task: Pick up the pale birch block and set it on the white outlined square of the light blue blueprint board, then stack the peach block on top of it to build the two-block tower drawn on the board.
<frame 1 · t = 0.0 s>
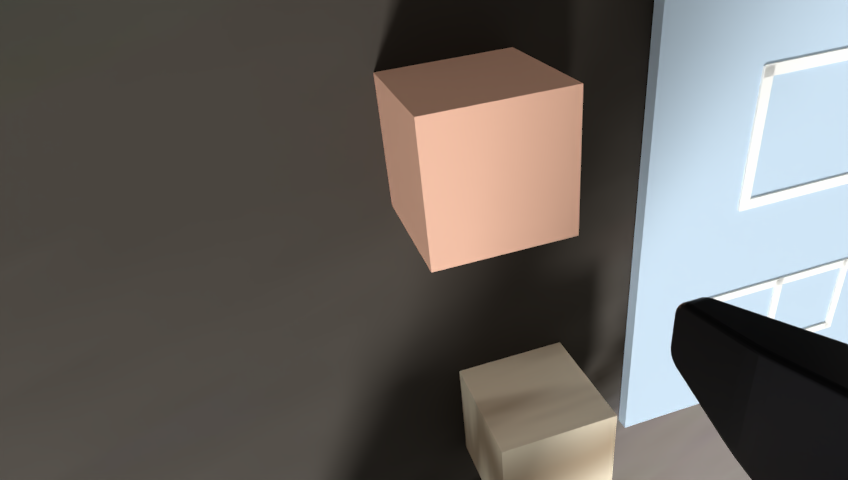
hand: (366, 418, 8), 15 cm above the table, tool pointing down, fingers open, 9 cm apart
blueprint board: (784, 204, 29), on the table
birch block: (511, 394, 30), on the table
peach block: (449, 128, 23), on the table
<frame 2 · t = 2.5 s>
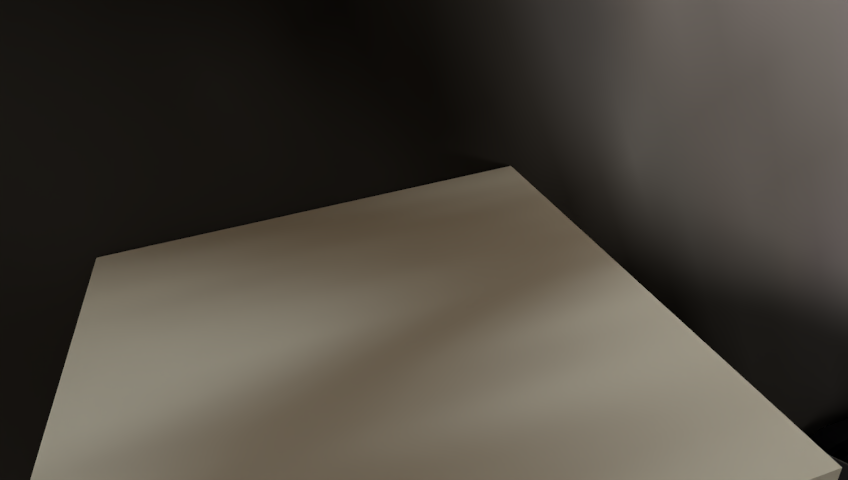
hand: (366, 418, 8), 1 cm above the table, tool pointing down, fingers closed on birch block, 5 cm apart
birch block: (350, 365, 9), on the table, touching gripper
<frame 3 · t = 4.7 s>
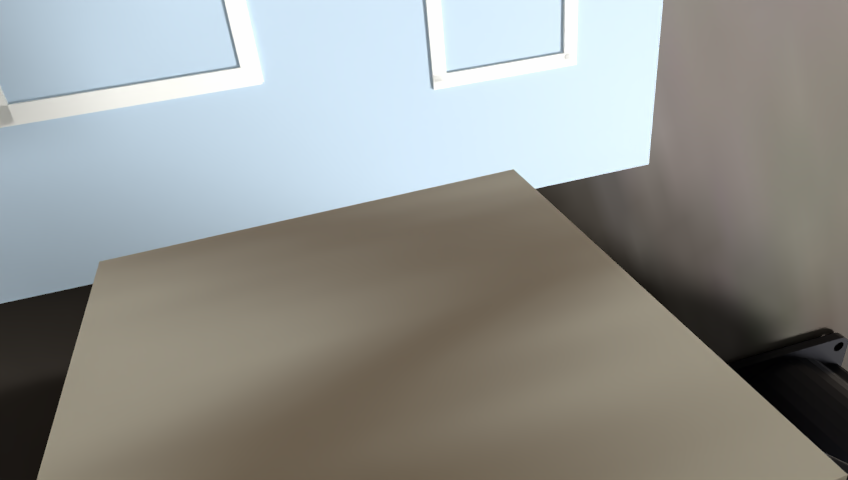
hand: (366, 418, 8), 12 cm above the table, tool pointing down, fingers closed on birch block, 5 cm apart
birch block: (352, 368, 9), point 11 cm above the table, touching gripper
when the fingers open (3 cm above the table, at t = 7.1 s): birch block drops 1 cm, resting on blueprint board.
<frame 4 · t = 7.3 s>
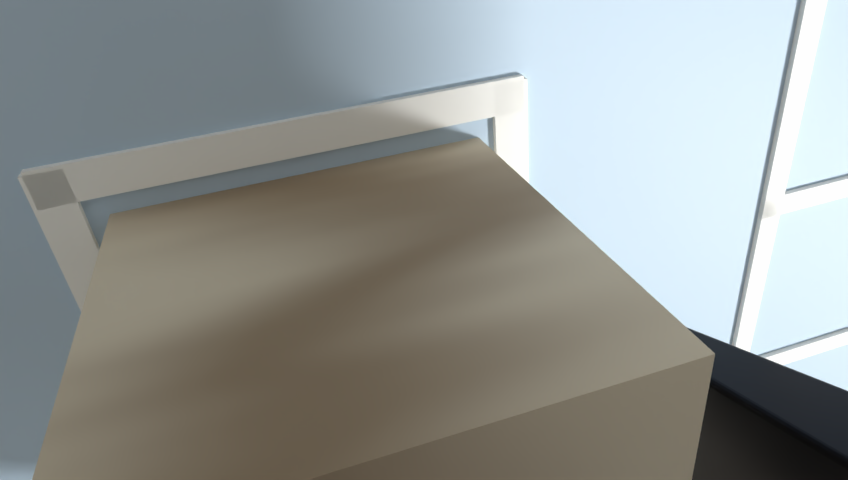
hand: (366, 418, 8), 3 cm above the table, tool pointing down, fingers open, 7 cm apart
blueprint board: (551, 240, 11), on the table
birch block: (336, 319, 10), point 1 cm above the table, touching blueprint board
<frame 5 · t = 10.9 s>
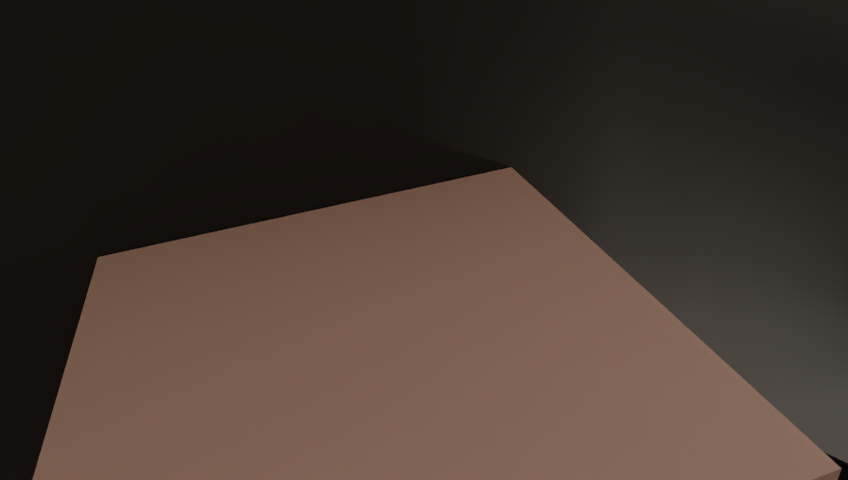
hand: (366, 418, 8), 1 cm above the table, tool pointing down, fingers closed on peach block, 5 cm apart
peach block: (350, 366, 9), on the table, touching gripper
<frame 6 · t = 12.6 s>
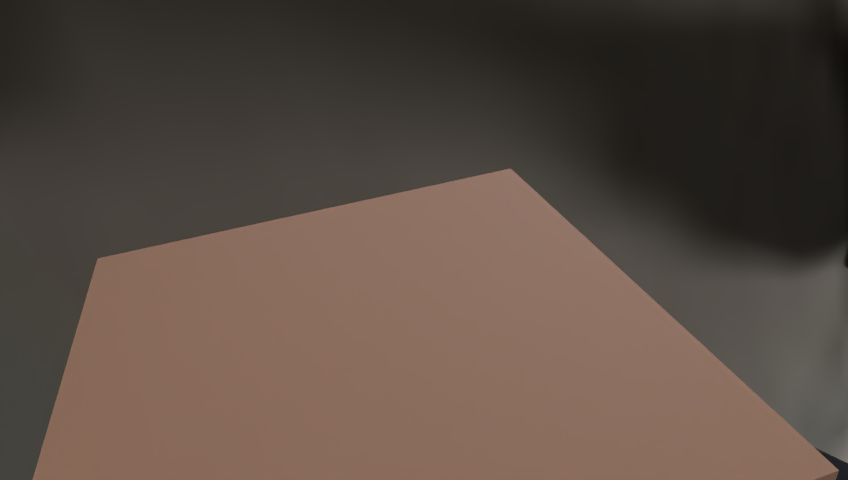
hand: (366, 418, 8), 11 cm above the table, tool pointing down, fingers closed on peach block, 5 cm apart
peach block: (349, 367, 9), point 10 cm above the table, touching gripper
when the fingers open (8 cm above the table, at t = 14.5 s): peach block drops 1 cm, resting on birch block.
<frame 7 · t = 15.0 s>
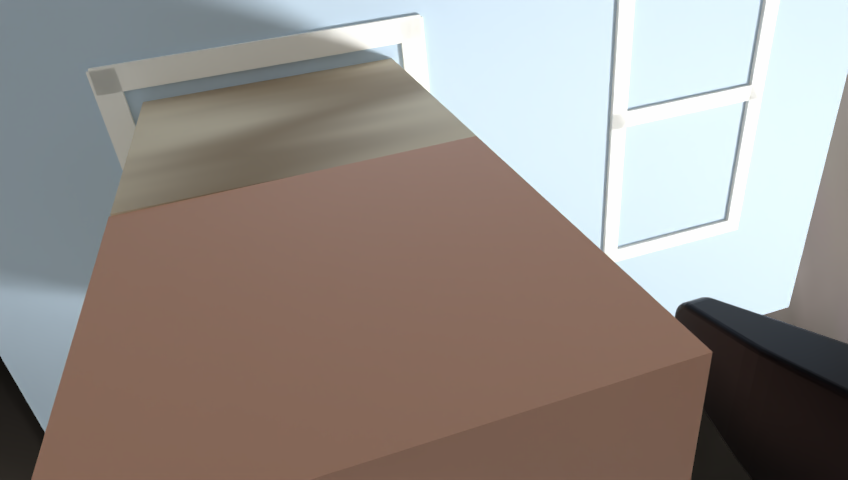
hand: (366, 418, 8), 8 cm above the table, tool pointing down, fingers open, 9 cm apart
blueprint board: (456, 143, 15), on the table
birch block: (297, 190, 14), point 1 cm above the table, touching blueprint board, peach block
peach block: (336, 319, 10), point 6 cm above the table, touching birch block
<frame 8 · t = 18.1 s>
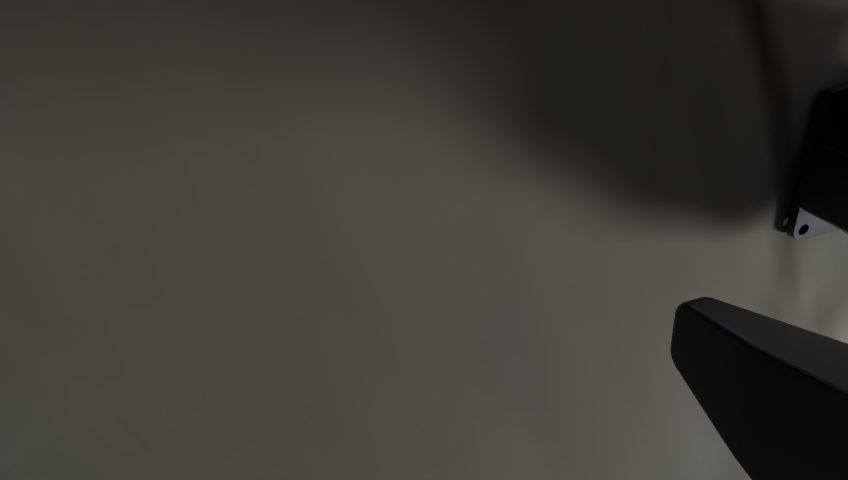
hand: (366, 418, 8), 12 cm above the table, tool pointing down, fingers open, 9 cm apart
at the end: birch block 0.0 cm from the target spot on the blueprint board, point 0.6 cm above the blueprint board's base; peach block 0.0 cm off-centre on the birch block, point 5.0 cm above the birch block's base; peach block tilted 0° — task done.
